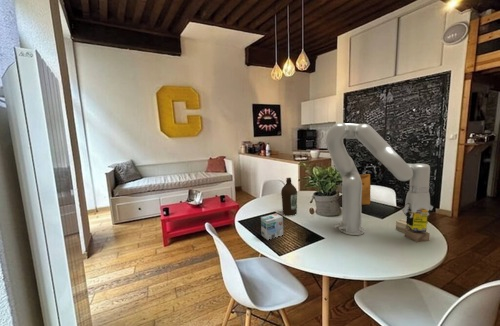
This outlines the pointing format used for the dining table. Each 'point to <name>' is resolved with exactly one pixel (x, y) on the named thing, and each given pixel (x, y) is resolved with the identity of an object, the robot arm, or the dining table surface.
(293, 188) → the olive oil
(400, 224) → the oak cube
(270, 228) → the light bulb box
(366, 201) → the coffee package
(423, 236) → the walnut block
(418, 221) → the supplement box
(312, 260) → the dining table surface
